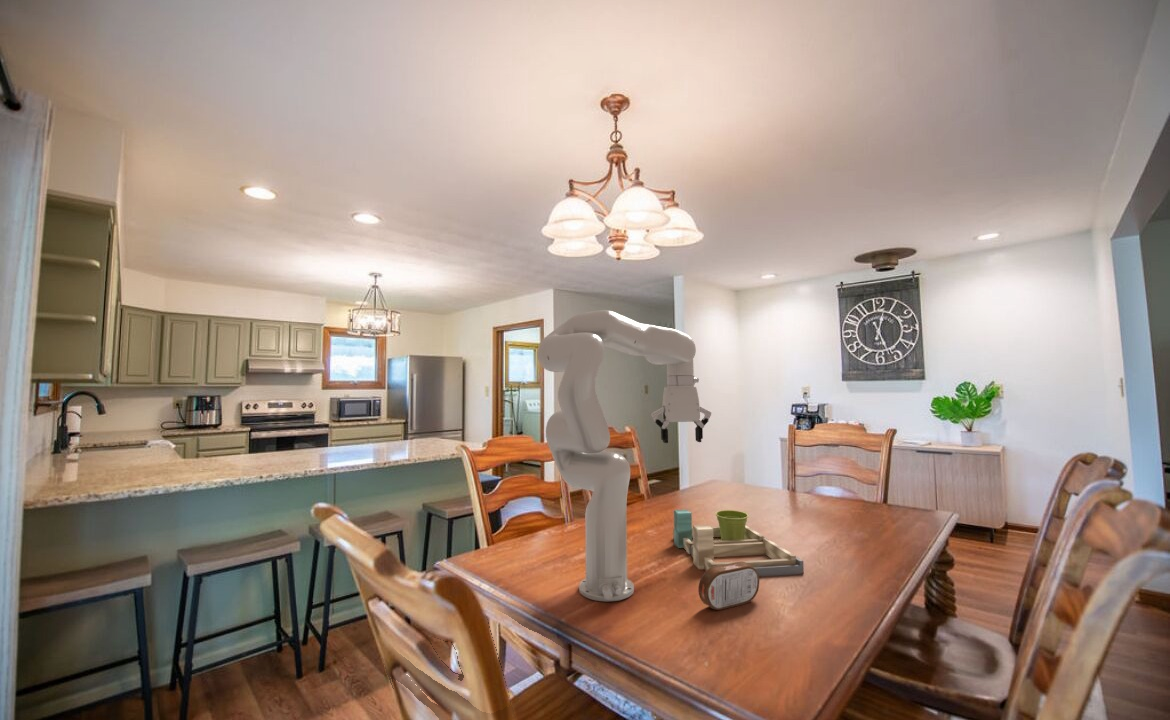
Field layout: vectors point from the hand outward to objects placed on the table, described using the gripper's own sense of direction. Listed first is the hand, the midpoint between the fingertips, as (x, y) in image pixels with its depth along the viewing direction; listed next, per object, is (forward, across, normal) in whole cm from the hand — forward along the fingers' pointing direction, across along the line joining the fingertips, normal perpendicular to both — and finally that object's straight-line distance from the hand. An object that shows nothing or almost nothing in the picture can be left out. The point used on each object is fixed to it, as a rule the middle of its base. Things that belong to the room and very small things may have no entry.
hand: (682, 442), depth 137 cm
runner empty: (+31, -12, +11) cm, 35 cm away
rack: (+31, -12, +3) cm, 33 cm away
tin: (+31, 0, +33) cm, 45 cm away
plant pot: (+31, -16, -6) cm, 36 cm away
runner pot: (+31, -11, -5) cm, 33 cm away
